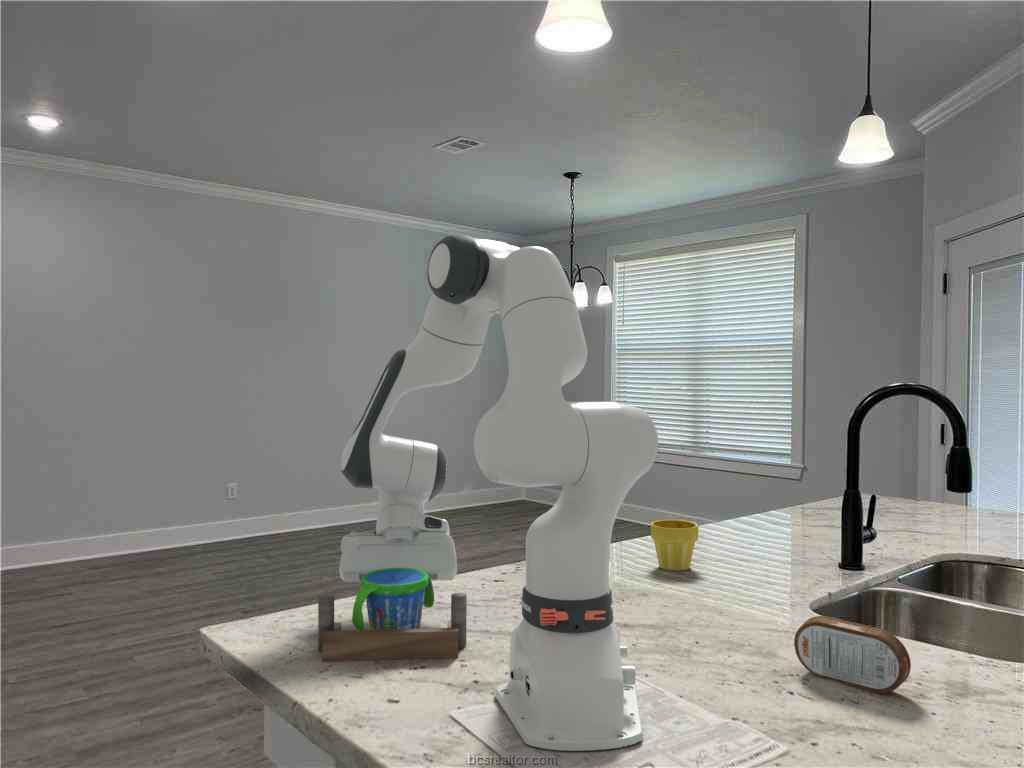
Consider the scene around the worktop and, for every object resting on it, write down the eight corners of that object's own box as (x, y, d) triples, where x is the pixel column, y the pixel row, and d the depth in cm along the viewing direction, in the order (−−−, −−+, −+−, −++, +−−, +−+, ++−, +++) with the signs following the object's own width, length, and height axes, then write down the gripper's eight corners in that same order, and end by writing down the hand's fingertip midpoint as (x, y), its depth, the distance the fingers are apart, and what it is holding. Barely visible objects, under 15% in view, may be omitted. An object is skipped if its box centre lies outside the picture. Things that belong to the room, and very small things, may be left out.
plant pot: (646, 571, 166) (647, 526, 166) (653, 560, 176) (654, 517, 176) (695, 575, 163) (696, 529, 163) (699, 564, 173) (700, 520, 173)
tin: (911, 695, 103) (912, 633, 102) (904, 702, 100) (905, 639, 100) (799, 666, 113) (800, 609, 112) (791, 672, 110) (791, 614, 110)
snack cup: (372, 660, 114) (372, 591, 113) (334, 641, 121) (335, 577, 121) (453, 635, 124) (453, 573, 124) (414, 620, 132) (414, 561, 132)
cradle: (467, 657, 115) (467, 604, 115) (312, 661, 113) (313, 607, 113) (465, 635, 125) (465, 586, 125) (322, 638, 123) (323, 588, 122)
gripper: (340, 522, 135) (332, 593, 125) (456, 520, 137) (457, 590, 127) (343, 541, 139) (336, 612, 130) (456, 540, 141) (456, 609, 132)
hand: (397, 601), depth 129 cm, fingers closed
